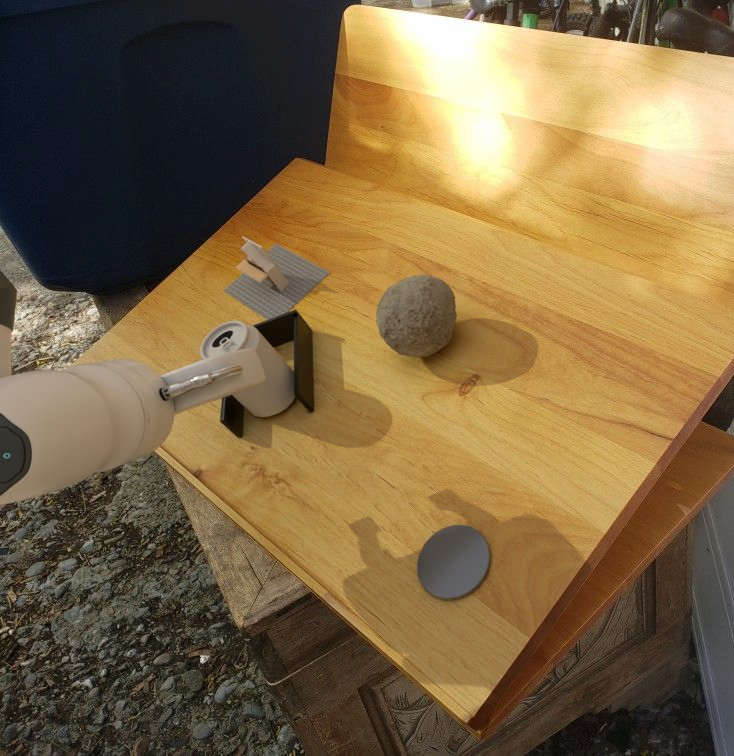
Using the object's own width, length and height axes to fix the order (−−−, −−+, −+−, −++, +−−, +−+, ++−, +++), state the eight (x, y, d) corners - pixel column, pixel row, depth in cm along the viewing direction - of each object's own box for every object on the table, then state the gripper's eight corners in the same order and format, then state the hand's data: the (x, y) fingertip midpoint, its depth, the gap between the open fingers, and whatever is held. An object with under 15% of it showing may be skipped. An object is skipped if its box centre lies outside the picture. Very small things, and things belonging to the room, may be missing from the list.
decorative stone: (418, 384, 83) (385, 333, 76) (386, 349, 88) (351, 298, 81) (483, 334, 85) (456, 279, 77) (447, 302, 90) (419, 248, 83)
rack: (314, 411, 86) (296, 391, 82) (238, 438, 87) (217, 419, 83) (312, 330, 95) (295, 308, 91) (243, 355, 96) (224, 335, 92)
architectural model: (273, 298, 102) (245, 263, 96) (249, 283, 105) (221, 249, 100) (290, 283, 103) (263, 247, 97) (266, 269, 107) (238, 234, 101)
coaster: (473, 610, 64) (471, 608, 64) (406, 588, 68) (404, 586, 67) (502, 537, 68) (500, 534, 68) (437, 519, 71) (435, 517, 71)
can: (287, 364, 92) (236, 305, 83) (312, 392, 88) (261, 334, 78) (242, 400, 90) (185, 344, 81) (265, 431, 86) (206, 375, 77)
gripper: (210, 336, 57) (274, 328, 70) (-5, 416, 58) (98, 393, 72) (239, 406, 57) (296, 386, 71) (24, 483, 59) (121, 448, 73)
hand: (195, 390), depth 72 cm, fingers open, 8 cm apart
